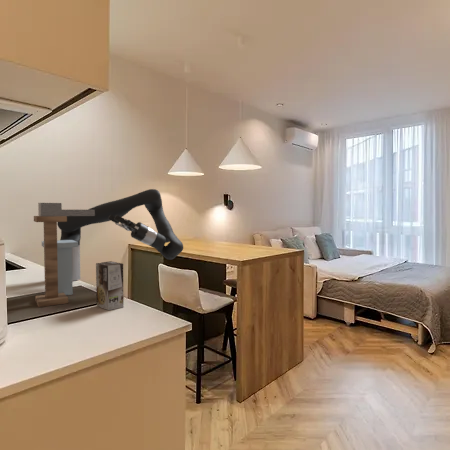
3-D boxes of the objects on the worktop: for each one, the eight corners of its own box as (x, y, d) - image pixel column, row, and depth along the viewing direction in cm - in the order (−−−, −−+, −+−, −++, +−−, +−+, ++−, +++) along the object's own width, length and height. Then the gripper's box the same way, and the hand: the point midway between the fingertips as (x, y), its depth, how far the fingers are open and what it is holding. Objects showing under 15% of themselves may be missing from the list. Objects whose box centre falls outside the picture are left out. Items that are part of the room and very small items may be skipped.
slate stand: (42, 292, 147) (41, 241, 146) (72, 289, 154) (72, 239, 153) (46, 298, 138) (45, 243, 136) (78, 294, 144) (77, 242, 143)
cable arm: (38, 216, 132) (38, 202, 132) (91, 215, 143) (91, 203, 143) (40, 216, 127) (40, 202, 126) (96, 216, 138) (95, 203, 137)
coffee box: (124, 307, 127) (124, 263, 126) (108, 310, 122) (107, 265, 122) (111, 302, 133) (111, 260, 133) (95, 305, 129) (95, 262, 128)
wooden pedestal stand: (35, 300, 134) (33, 215, 133) (63, 297, 140) (62, 215, 138) (38, 307, 126) (36, 216, 125) (68, 303, 132) (66, 216, 130)
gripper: (141, 225, 163) (111, 209, 154) (154, 227, 151) (121, 209, 143) (134, 240, 161) (103, 224, 153) (146, 242, 150) (113, 225, 141)
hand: (112, 216), depth 148 cm, fingers open, 8 cm apart
